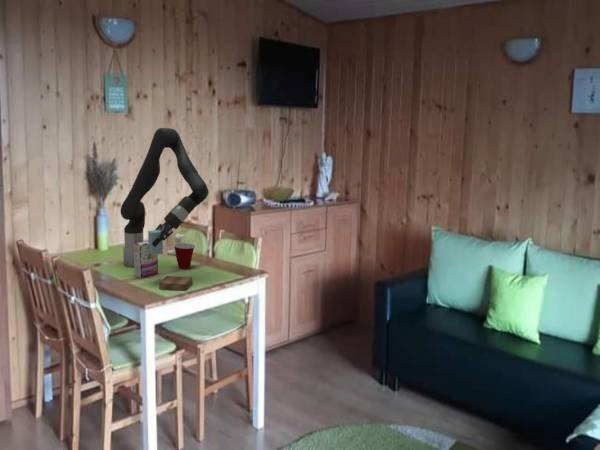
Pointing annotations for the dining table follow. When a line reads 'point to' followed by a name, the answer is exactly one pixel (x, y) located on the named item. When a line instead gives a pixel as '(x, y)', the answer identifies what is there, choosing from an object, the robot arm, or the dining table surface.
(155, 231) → the teal block
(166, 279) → the walnut board
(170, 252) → the seated beast figurine
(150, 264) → the candy bar box
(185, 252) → the plastic cup
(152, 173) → the robot arm
